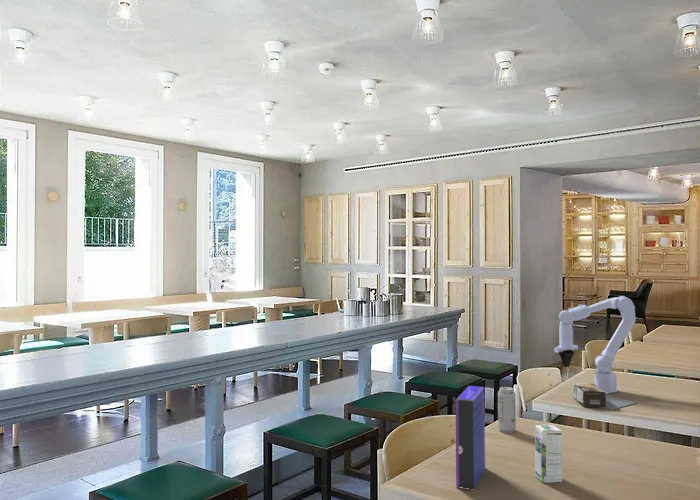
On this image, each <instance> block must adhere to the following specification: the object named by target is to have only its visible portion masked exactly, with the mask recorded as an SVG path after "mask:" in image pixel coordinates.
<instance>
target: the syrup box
mask: <svg viewBox="0 0 700 500" xmlns="http://www.w3.org/2000/svg"><path fill="white" fill-rule="evenodd" d="M534 435H535V437H534V439H535V442H534V445H535V446H534V451H535V452H534V454H535V455H534V456H535V457H534V463H535V464H534V475H535V477H537V479H538V480H540V481H541V483H543V484H548V483H550V484H551V483H563V431H562V430H561V429H560V428H558V427H557V426H555V425H554V424H538V425H535V434H534Z"/></svg>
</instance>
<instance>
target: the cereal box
mask: <svg viewBox="0 0 700 500" xmlns="http://www.w3.org/2000/svg"><path fill="white" fill-rule="evenodd" d="M454 407H455V474H456V475H455V486H457V487H463V488H469V489H474V488H475V489H476V487H477V485H478V483H479V481H480V479H481V477H482V476H483V473H484V471H485V469H486V447H485V446H486V439H485V438H486V432H485V431H486V427H485V424H486V423H485V418H486V417H485V415H486V414H485V410H486V409H485V387H484V386H477V385H468V386H467V387H466V388H464V390H463V391H462V392H461V393H460V395H458V397H457V398H456V399H455V406H454ZM476 484H477V485H476ZM475 486H476V487H475ZM475 489H474V490H475Z"/></svg>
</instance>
